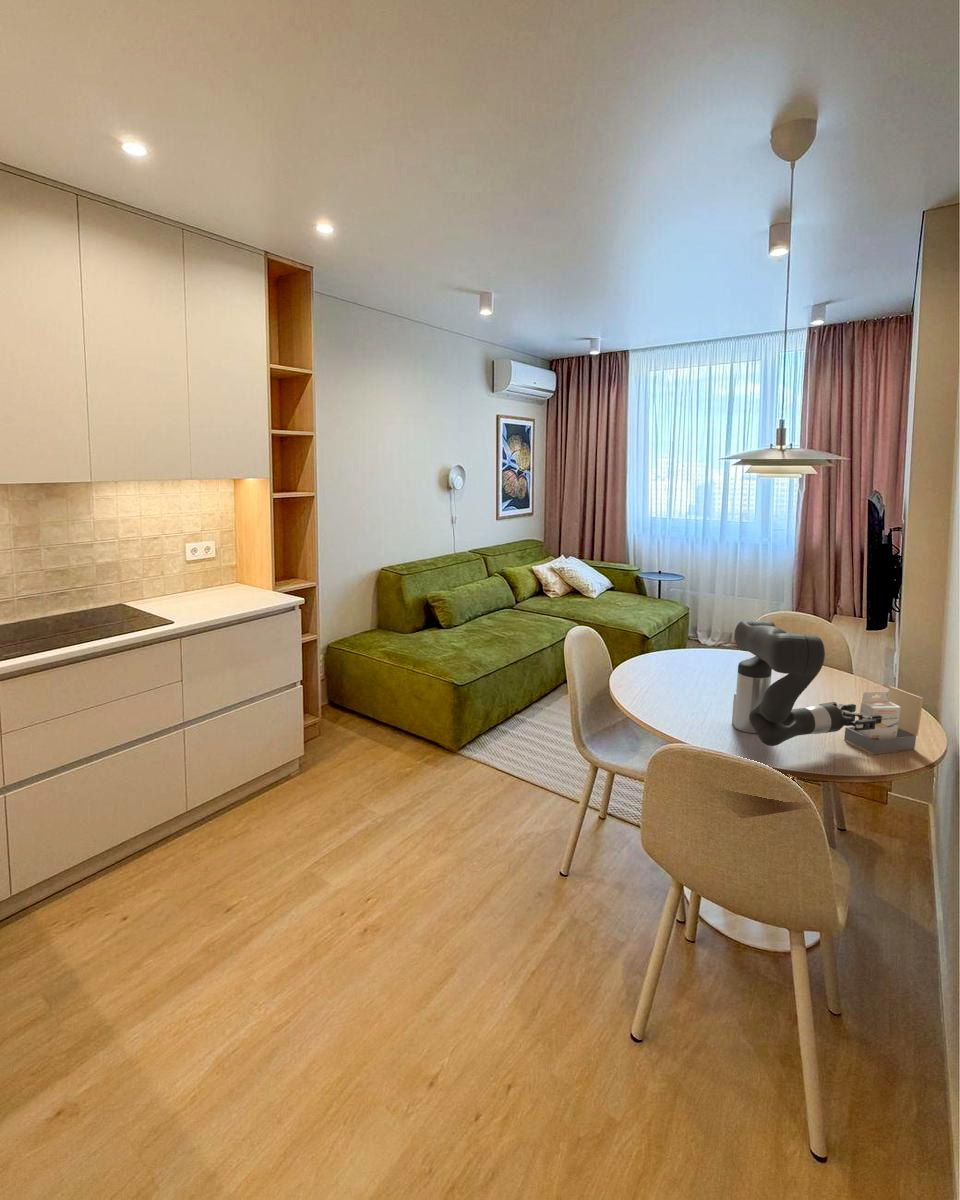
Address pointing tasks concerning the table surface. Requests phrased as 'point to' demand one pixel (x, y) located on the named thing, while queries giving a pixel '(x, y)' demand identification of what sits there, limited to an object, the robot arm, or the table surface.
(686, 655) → the table surface
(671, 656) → the table surface
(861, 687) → the table surface
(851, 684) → the table surface
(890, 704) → the ink cartridge box
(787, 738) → the robot arm
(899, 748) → the mailer box
